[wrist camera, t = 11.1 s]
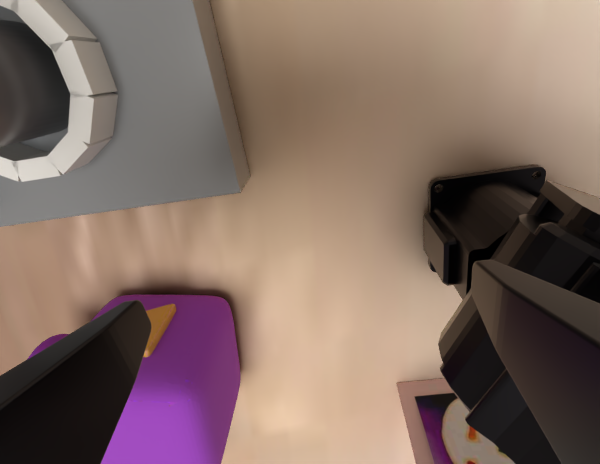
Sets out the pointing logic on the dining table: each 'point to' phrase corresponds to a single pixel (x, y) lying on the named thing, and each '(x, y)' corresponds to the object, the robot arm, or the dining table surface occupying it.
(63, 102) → the lens
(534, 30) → the dining table surface
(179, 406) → the toy camera
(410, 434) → the purple printed box
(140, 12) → the mount
